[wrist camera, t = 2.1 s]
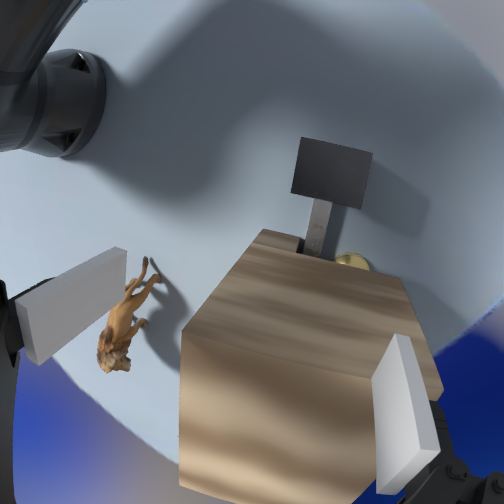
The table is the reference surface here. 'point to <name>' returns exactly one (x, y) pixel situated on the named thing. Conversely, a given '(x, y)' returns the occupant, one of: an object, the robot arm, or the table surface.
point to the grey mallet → (328, 183)
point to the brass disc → (352, 260)
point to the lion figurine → (123, 325)
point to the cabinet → (289, 377)
